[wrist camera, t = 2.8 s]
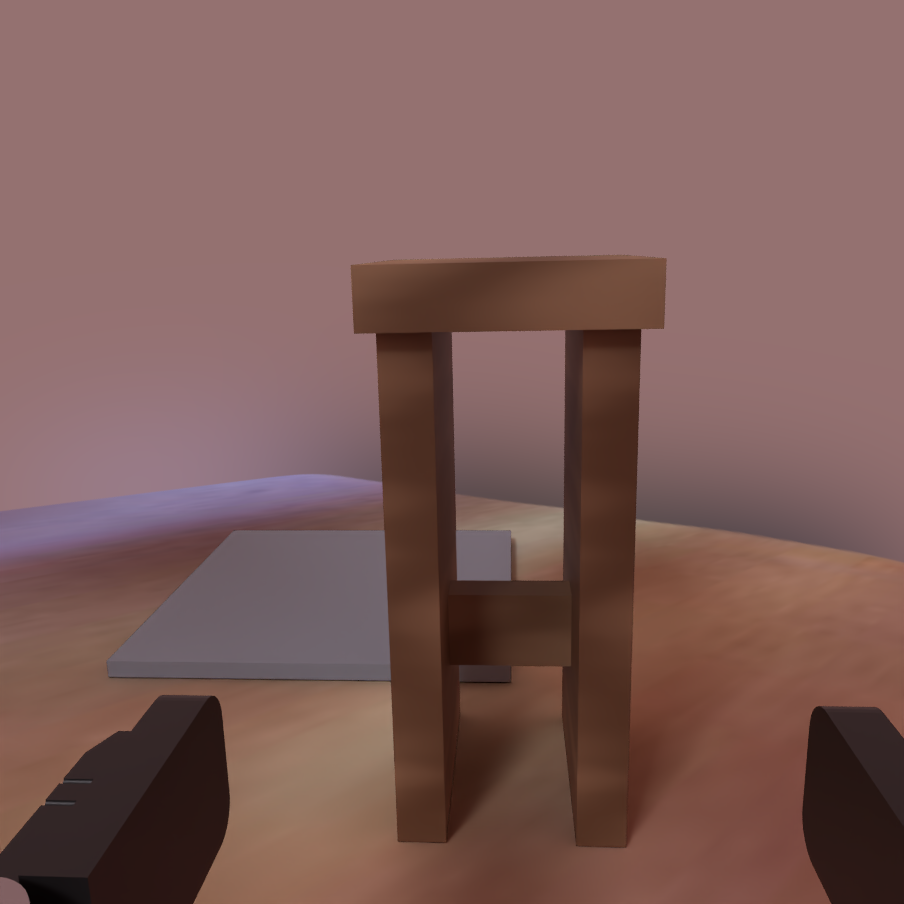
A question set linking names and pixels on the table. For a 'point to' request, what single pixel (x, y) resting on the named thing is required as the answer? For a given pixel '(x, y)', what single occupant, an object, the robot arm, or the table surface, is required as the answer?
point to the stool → (585, 515)
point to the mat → (292, 609)
